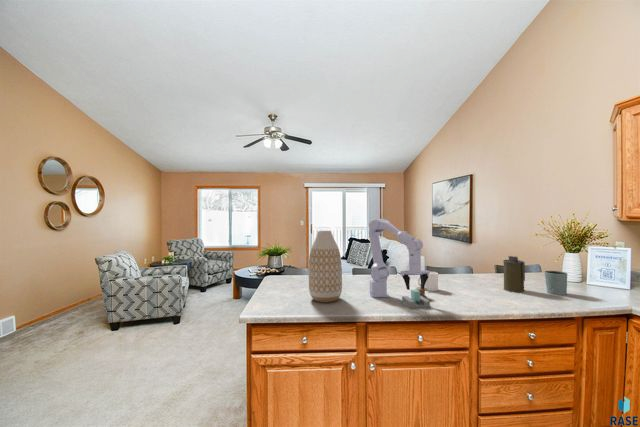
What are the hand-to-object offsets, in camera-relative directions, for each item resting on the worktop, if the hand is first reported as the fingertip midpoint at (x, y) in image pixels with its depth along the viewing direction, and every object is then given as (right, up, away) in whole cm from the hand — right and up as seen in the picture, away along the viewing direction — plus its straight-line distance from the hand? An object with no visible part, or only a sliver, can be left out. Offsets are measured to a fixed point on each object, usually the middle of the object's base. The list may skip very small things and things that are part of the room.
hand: (415, 289), depth 148 cm
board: (0, -8, 0) cm, 8 cm away
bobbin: (+7, -8, +12) cm, 16 cm away
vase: (-46, -9, +12) cm, 48 cm away
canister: (+67, -7, +23) cm, 71 cm away
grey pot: (+85, -7, +15) cm, 87 cm away
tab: (0, -7, -2) cm, 7 cm away
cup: (+17, -8, +28) cm, 34 cm away
